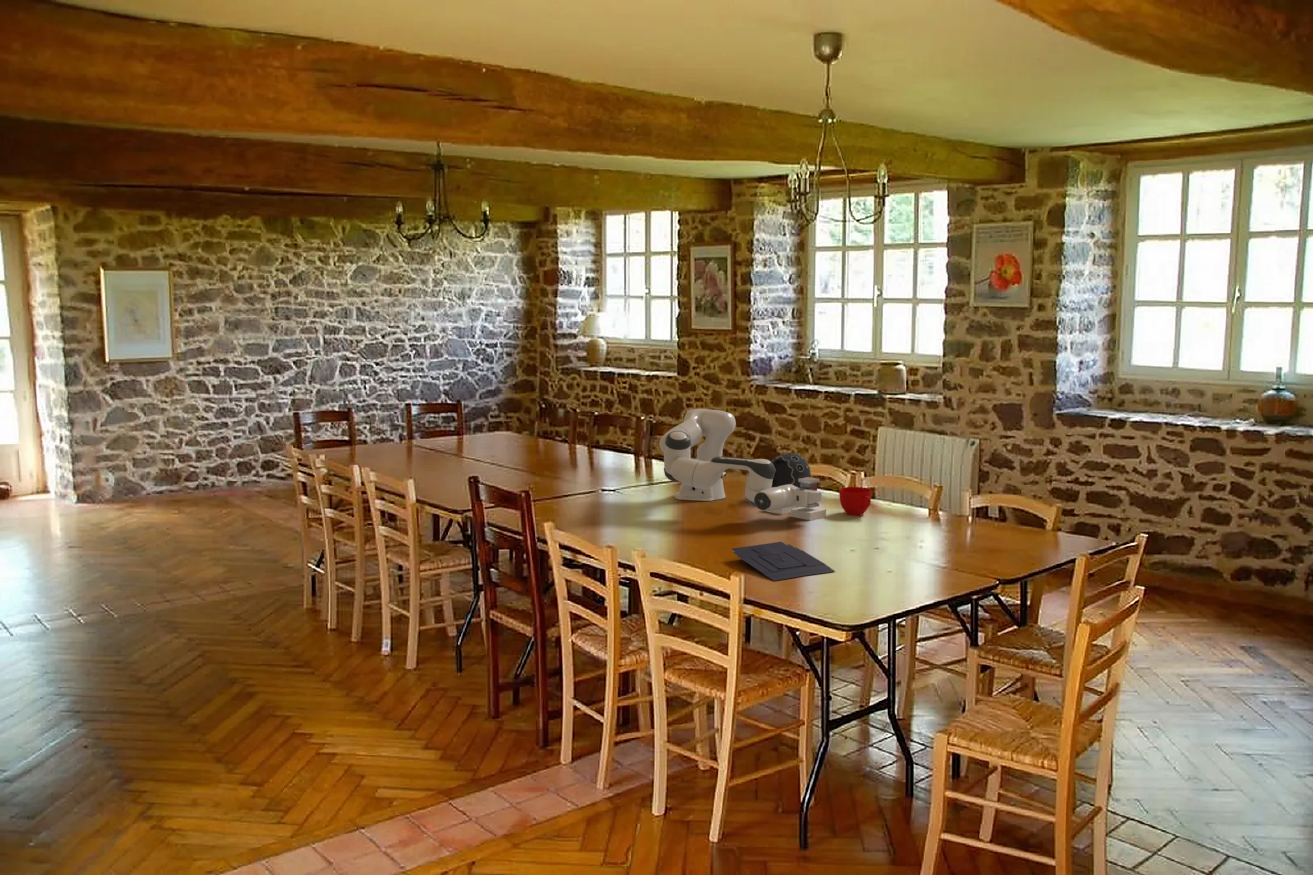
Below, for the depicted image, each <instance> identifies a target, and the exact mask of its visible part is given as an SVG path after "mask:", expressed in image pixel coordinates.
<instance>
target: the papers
mask: <svg viewBox="0 0 1313 875" xmlns="http://www.w3.org/2000/svg"><path fill="white" fill-rule="evenodd" d="M730 549H731V550H732V553H733V554H735V555H736V557H738V558H739V559H740V560H743V562H745V563H747V564H749V566H751V567H753V568H755V569H756V570H757V571H758V572H760V573H761V574H763V575H764V576H766V578H768V579H771V580H772V581H774V582H776V581H782V580H787V579H792V578H798V577H804V576H811V575H819V574H826V573H833V572H834V573H835V572H836V571H835V569H833V568H831V567H830V566H829V565H827V564H826V563H824V562H822V561H821V560H819V559H818V558H816V557H815V556H812V555H811V554H809V553H808V552H806V551H804V550H802V549H800V548H798V547H796V546H793V545H791V544H786V543H785V542H782V541H777V542H769V543H764V544H756V545H755V544H754V545H748V546H741V547H740V546H739V547H732V548H730Z"/></svg>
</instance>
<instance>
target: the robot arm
mask: <svg viewBox="0 0 1313 875" xmlns="http://www.w3.org/2000/svg"><path fill="white" fill-rule="evenodd" d="M736 423H737V422H736V418H735V415H733V414H732V413H730V412H727V411H725V410H718V409H708V408H693V409H690V410H688V411H687V412H686V413H685V415H684V418H683V422H681V423H679V424H678V425H675V426H674V427H672V428H671V429H669V430H668V431H666V433H664V434H663V435H662V436H661V437H660V439H659V442H658V444H659V448H660V450H661V452H662V453H663V465H664V467H663V474H664V475H665V478H667V479H668V480H669V481H672V482H680V483H681V484H680V486H679V491H678V492H675V494H674V499H676V500H681V501H701V502H702V501H703V502H712V501H716V500H722V499H725V498H726V497H727V496H726V493H725V488H724V482H723V480H724V479H723V478H724V473H725V471H726V470H727V469H728V470H729V469H731V470H733V469H734V470H743V471H747V472H748V477H747V482H746V487H745V491H744V492H745V493H744V497H745V499H746V501H747V502H748V503H749V504H750V505H751V506H753V507H755V508H757V509H758V510H760V511H764V512H767V511H772V510H778V509H780V508H787V507H794V506H798V508H799V507H805V506H807V504H813V503H820V502H821V501H822V499H823V498H822V496H823V494H822V491H820V490H818V489H817V490H808V489H802V488H798V487H795V486H794V485H791V484H788V485H782V486H778V487H772V488H771V486H772V481H773V478H774V475H775V471H776V469H775V467H774V465H773V463H772V460H770V459H765V458H747V457H746V458H745V457H733V456H723V450H724V446H725V445H724V444H725V442H726V440H727V439H728V437H729V436H730V435H731V434H732V433H733V432H734V431H735V429H736V425H737V424H736ZM704 435H705V440H704V442H703V443H702V444H700V445H699V446H697V450H696V452H697V453H696V458H692V457H691V448H692V447H694V446H696V445H698V444H699V443H701V441H702V438H703V436H704Z"/></svg>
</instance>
